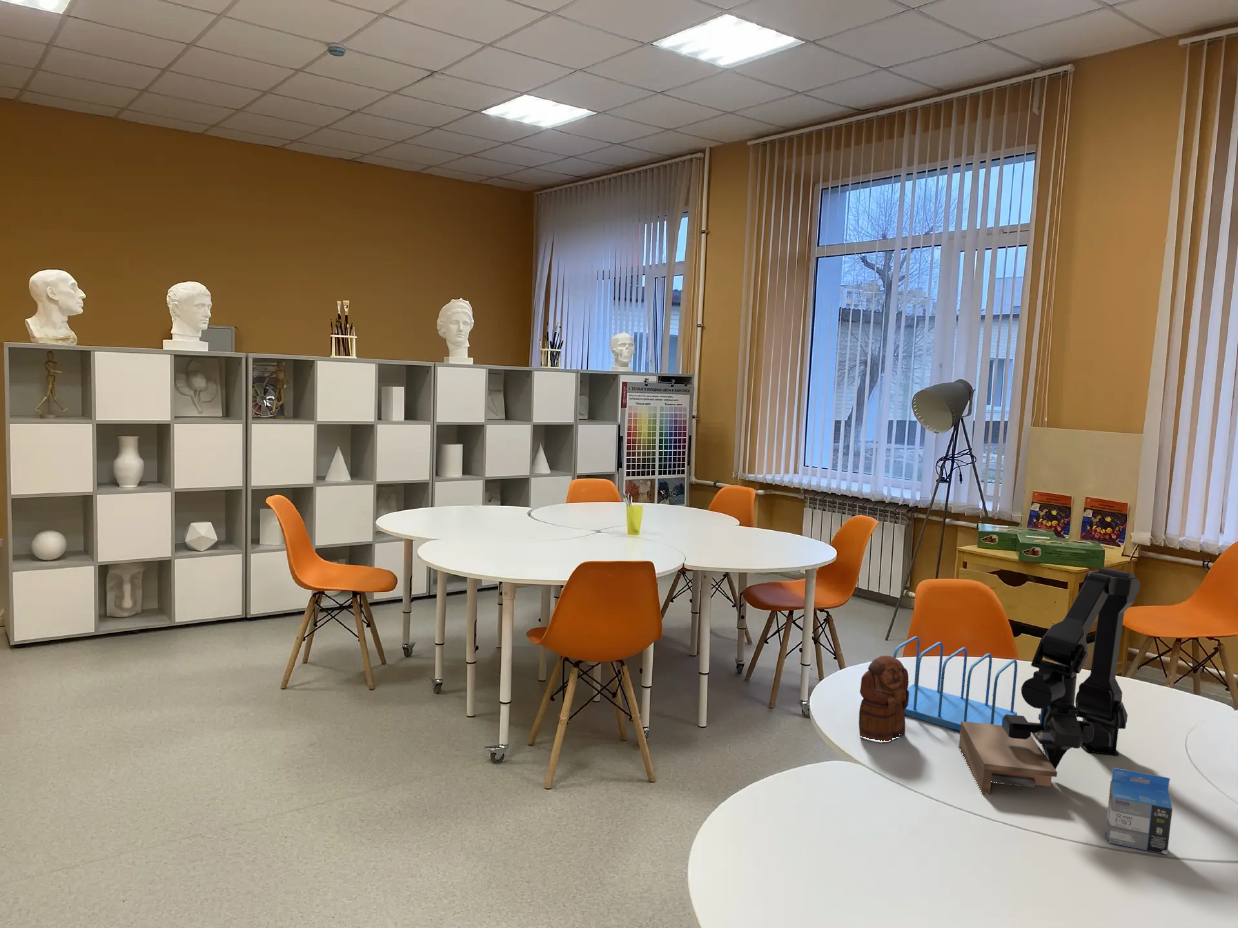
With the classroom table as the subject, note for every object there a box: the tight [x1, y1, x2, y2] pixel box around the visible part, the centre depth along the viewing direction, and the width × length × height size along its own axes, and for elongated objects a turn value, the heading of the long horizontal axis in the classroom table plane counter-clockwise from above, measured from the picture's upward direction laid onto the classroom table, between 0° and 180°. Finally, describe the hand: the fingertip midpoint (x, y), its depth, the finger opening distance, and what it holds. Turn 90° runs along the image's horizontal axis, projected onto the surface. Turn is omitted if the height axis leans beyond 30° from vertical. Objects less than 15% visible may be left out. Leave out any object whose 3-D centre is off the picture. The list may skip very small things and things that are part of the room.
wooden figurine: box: [858, 655, 910, 741], centre depth 185 cm, size 12×6×18 cm, turn 125°
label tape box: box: [1105, 767, 1173, 855], centre depth 146 cm, size 9×4×12 cm, turn 68°
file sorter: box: [892, 635, 1018, 732], centre depth 199 cm, size 25×17×15 cm
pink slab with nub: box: [992, 770, 1052, 787], centre depth 170 cm, size 12×7×4 cm, turn 80°
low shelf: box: [958, 721, 1058, 795], centre depth 171 cm, size 13×20×6 cm, turn 170°
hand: (1051, 770), depth 169 cm, fingers closed
